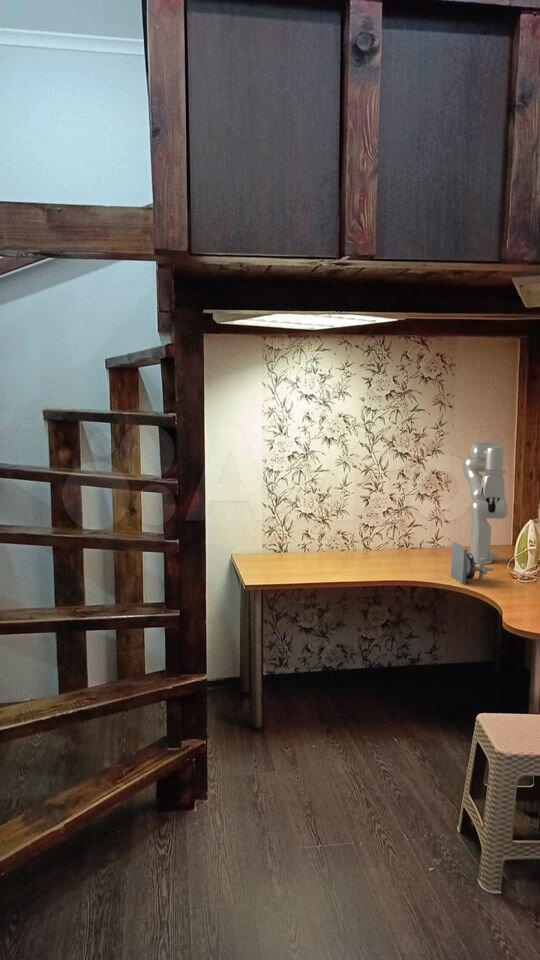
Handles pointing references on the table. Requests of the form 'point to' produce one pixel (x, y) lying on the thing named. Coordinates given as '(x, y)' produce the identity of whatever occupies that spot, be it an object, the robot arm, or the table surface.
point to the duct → (470, 566)
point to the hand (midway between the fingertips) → (491, 512)
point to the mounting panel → (459, 563)
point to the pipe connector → (482, 569)
